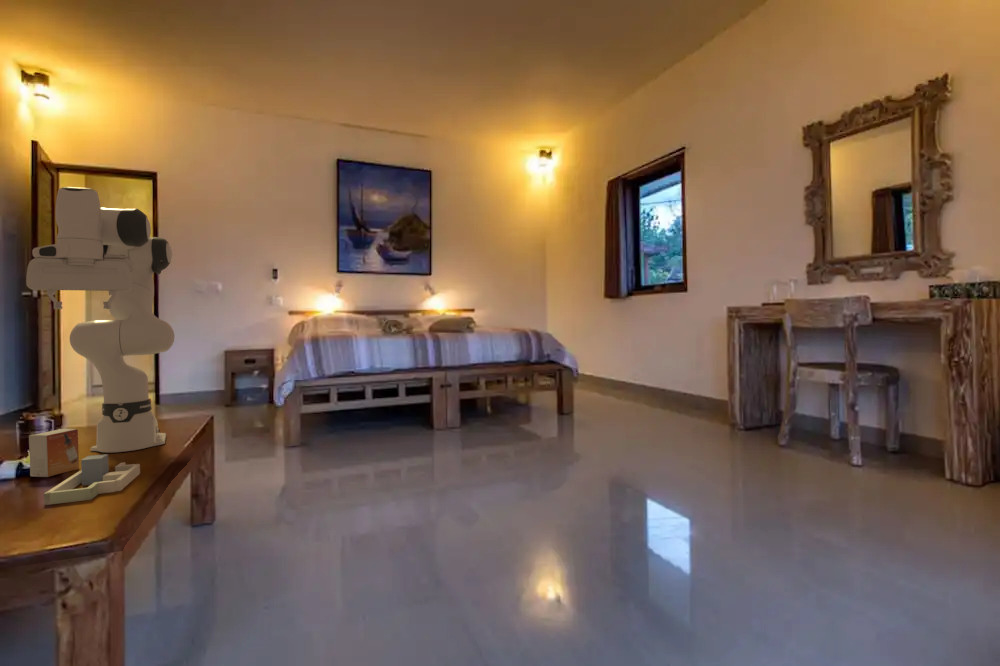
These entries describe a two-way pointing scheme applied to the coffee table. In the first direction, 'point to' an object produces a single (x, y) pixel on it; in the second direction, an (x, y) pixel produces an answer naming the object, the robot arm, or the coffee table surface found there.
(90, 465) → the slate block
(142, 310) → the robot arm
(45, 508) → the coffee table surface
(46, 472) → the small box
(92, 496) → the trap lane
